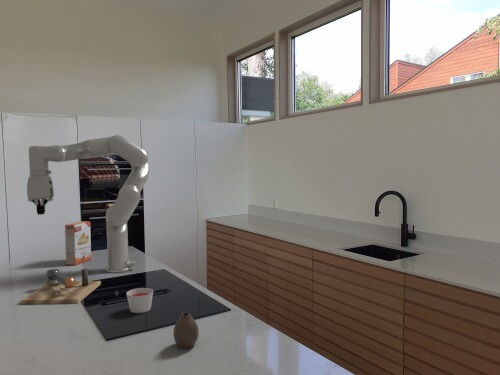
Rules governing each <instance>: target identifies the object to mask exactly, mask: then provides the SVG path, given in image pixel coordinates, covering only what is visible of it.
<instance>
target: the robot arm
mask: <svg viewBox="0 0 500 375" xmlns="http://www.w3.org/2000/svg"><path fill="white" fill-rule="evenodd" d="M112 155H116V156H119V157H120V158H122V159H123V160H125V161H127V162H128V163H129V164H130V166H131V172H130V173H129V175H128V177H127V178H126V180H125V182H124V184H123V185H122V187H121V188H120V189H119V192H118V194H117V198H116V199H115V201H114V202H113V204H112V205H111V206H109V207H108V208H107V209H106V213H105V223H106V224H105V225H106V244H107V245H106V246H107V266H106V267H104V271H105V272H107V273H112V274H113V273H114V274H115V273H124V272H129V271H130V270H132V269H133V267H137V266H138V261H132V260H131V258H129V240H128V239H129V238H128V236H129V235H128V234H129V232H128V221H129V220H130V218H131V217H132V214H134V212H135V209H136V208H137V207H138V205H139V203H140V200H141V192H142V190H143V188H144V186H145V185H146V182H147V181H148V179H149V176H150V165H149V161H148V160H149V155H148V152H146V151H145V150H144V149H142V148H141V147H139V146H138V145H136V144H135V143H133V142H132V141H130V140H129V139H127V138H125V137H124V136H121V135H119V134H115V135H111V136H108V137H100V138H94V139H86V140H83V141H81V142H77V143H72V144H65V145H64V144H63V145H56V144H55V145H48V146H47V145H46V146H45V145H30V146H29V148H28V163H29V164H28V165H29V176H28V177H27V178H28V179H27V184H26V195H27V201H28V202H29V203H30V202H31V203H33V204H34V205H35V206H36V214H37V215H41V216H42V215H45V212H46V205H47V204H48V203H49V202H52V201H54V198H53V197H54V196H55V191H54V190H55V189H54V185H53V184H54V183H53V180H52V176H50V175H51V174H52V171H51V170H50V169H49V162H54V163H63V162H70V161H75V160H81V159H82V160H84V159H86V160H87V159H93V158H100V157H105V156H112Z"/></svg>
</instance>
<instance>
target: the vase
mask: <svg viewBox="0 0 500 375" xmlns="http://www.w3.org/2000/svg"><path fill="white" fill-rule="evenodd" d="M198 326H199V325H198V323H197V321H196V320H195V319H194V318H193V317H192V315H191V314H190V312H183V313H181V314H180V317H179V319H178V320H177V321H176V322H175V325H174V328H173V332H172V333H173V339H174V342H175V344H176V346H178V347H180V348H182V349H189V348H191V347H193V346H194V345H195V344H196V343H197V341H198V338H199V327H198Z"/></svg>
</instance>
